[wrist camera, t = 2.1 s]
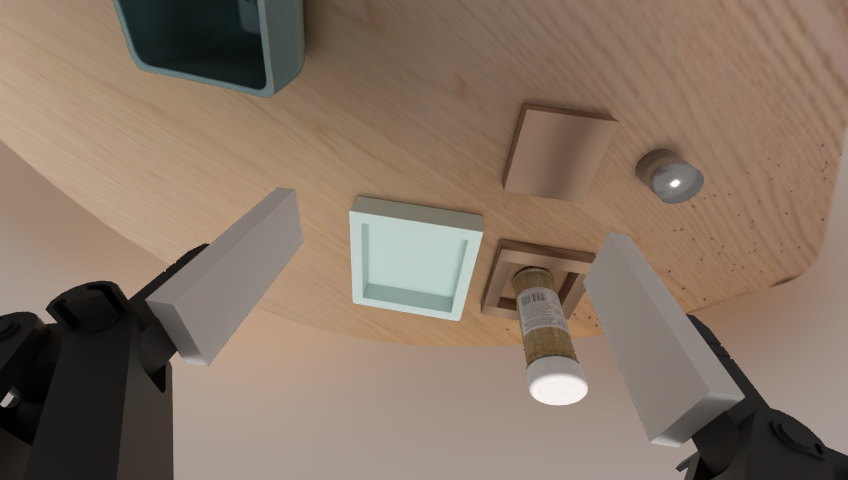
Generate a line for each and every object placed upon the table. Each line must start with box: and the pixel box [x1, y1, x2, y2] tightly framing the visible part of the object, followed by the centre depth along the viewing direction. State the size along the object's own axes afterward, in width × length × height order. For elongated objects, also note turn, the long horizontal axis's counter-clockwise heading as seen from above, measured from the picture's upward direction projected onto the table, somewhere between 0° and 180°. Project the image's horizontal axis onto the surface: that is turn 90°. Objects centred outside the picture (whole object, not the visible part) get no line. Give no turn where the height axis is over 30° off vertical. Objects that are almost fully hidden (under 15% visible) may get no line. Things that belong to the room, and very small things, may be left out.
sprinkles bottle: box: [513, 267, 588, 405], centre depth 31 cm, size 5×5×14 cm
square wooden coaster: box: [502, 103, 619, 203], centre depth 27 cm, size 7×7×2 cm
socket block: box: [481, 239, 596, 323], centre depth 35 cm, size 10×10×2 cm
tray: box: [349, 196, 483, 321], centre depth 35 cm, size 13×13×3 cm
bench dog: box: [636, 149, 704, 204], centre depth 25 cm, size 3×3×4 cm
